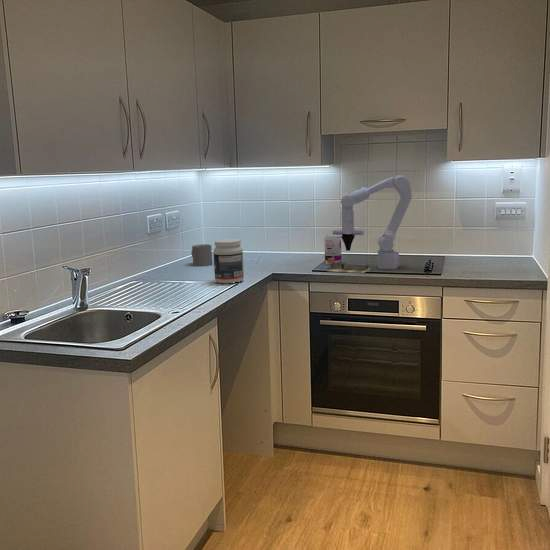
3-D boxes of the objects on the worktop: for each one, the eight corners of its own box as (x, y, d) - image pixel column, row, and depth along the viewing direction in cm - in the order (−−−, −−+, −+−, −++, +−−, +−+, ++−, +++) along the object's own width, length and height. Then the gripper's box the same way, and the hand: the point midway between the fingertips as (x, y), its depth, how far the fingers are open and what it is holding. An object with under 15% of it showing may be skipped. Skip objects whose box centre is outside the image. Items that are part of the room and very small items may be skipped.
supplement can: (341, 264, 310) (341, 234, 307) (341, 266, 301) (341, 236, 299) (325, 264, 310) (324, 234, 308) (324, 267, 302) (324, 236, 300)
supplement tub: (217, 279, 281) (215, 238, 278) (245, 278, 280) (243, 238, 277) (212, 285, 268) (210, 242, 265) (242, 284, 267) (240, 242, 264)
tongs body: (368, 269, 286) (368, 264, 286) (365, 270, 283) (365, 265, 283) (333, 267, 294) (333, 262, 294) (330, 268, 291) (330, 264, 290)
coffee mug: (215, 264, 321) (214, 245, 319) (198, 267, 316) (197, 247, 314) (204, 261, 332) (203, 243, 330) (187, 263, 327) (186, 245, 325)
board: (371, 271, 288) (371, 268, 288) (363, 275, 277) (363, 272, 277) (335, 269, 296) (335, 266, 296) (325, 273, 285) (325, 271, 285)
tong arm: (367, 268, 285) (367, 263, 285) (365, 269, 283) (365, 264, 282) (339, 267, 292) (338, 261, 291) (336, 268, 289) (336, 262, 289)
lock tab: (334, 262, 292) (334, 258, 292) (332, 263, 290) (332, 258, 290) (329, 262, 293) (329, 257, 293) (328, 262, 292) (328, 258, 291)
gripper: (365, 220, 287) (366, 249, 289) (336, 220, 293) (336, 248, 296) (360, 222, 281) (361, 251, 283) (330, 221, 287) (331, 250, 290)
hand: (348, 250), depth 289 cm, fingers closed
